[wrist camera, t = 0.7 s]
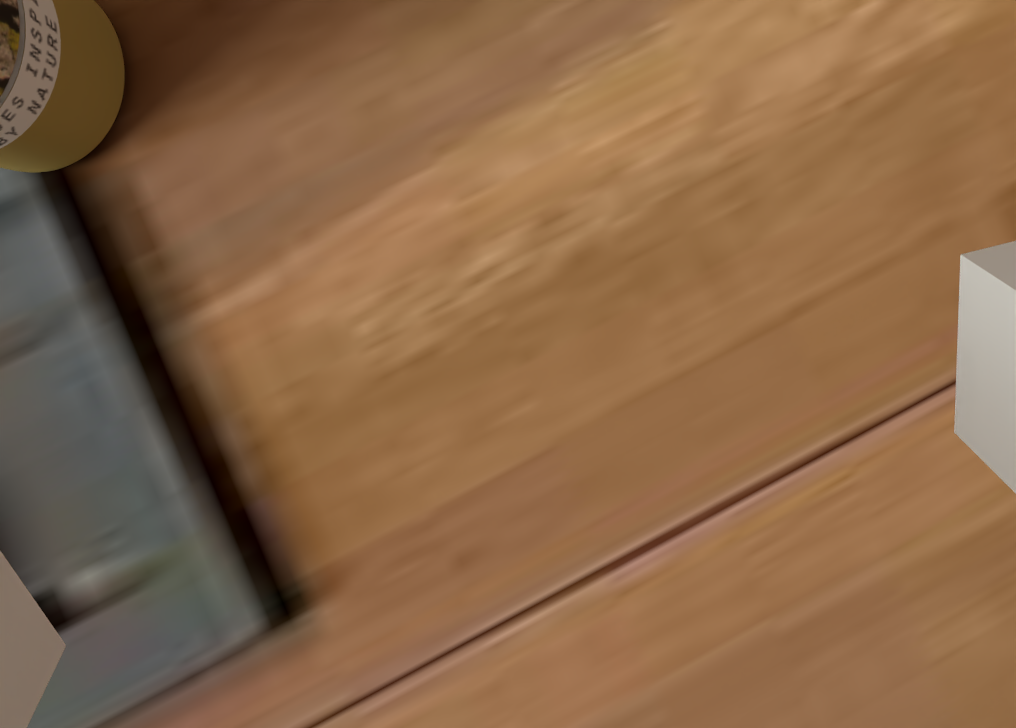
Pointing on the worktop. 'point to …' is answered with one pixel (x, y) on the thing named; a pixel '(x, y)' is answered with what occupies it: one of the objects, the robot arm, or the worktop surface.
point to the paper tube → (56, 82)
